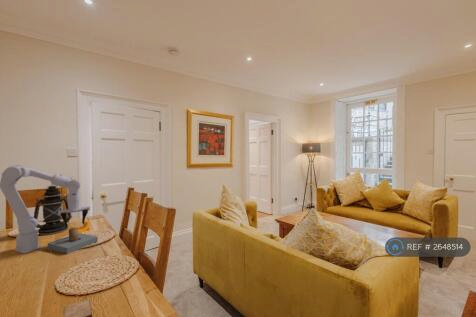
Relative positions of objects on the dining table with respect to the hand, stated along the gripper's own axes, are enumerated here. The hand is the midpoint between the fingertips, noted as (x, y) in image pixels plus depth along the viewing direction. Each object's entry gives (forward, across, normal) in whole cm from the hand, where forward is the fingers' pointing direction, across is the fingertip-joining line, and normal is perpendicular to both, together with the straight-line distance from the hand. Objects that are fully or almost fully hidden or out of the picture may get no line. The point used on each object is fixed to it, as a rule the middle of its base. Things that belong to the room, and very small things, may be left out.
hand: (74, 224), depth 128 cm
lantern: (+10, -10, +30) cm, 33 cm away
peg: (+9, -1, -6) cm, 11 cm away
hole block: (+9, -1, -6) cm, 11 cm away
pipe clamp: (+10, +2, +13) cm, 16 cm away
